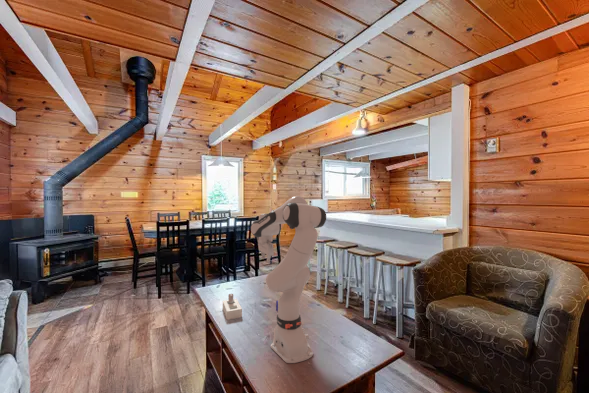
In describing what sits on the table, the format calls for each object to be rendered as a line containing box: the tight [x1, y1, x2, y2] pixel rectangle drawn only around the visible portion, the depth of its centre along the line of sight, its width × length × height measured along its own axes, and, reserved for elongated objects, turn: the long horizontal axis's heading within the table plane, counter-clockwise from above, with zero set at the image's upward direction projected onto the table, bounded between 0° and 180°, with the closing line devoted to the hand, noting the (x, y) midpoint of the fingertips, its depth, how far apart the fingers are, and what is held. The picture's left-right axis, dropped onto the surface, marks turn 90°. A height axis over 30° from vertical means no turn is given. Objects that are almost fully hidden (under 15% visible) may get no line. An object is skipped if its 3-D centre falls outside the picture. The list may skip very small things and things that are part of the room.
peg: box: [228, 293, 234, 304], centre depth 164 cm, size 3×3×10 cm
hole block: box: [222, 298, 243, 321], centre depth 161 cm, size 16×9×5 cm, turn 24°
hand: (265, 260), depth 165 cm, fingers open, 8 cm apart
